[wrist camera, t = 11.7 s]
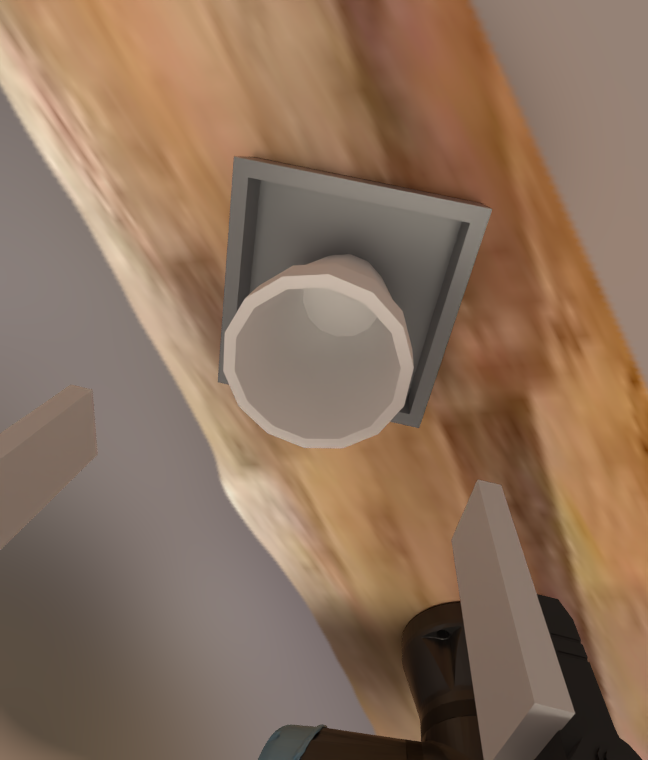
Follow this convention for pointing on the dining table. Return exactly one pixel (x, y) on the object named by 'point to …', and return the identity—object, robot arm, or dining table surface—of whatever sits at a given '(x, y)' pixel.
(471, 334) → the dining table surface
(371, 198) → the tray
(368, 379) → the foam cup
